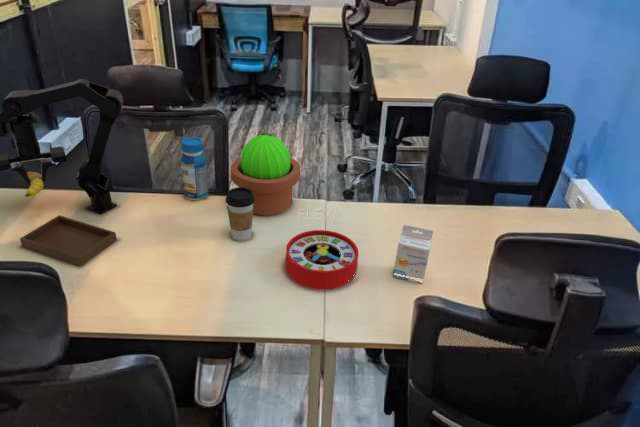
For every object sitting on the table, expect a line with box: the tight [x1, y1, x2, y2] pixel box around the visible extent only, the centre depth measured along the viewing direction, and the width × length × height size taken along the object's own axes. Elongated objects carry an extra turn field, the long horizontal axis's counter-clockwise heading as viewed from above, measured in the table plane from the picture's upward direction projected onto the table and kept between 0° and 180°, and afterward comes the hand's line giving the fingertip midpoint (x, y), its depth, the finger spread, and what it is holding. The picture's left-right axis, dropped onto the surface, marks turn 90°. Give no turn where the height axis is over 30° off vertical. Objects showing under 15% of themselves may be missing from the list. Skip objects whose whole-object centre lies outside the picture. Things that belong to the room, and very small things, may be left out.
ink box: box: [392, 224, 434, 284], centre depth 138 cm, size 8×5×15 cm, turn 72°
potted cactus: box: [230, 132, 301, 216], centre depth 165 cm, size 22×22×25 cm
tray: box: [19, 214, 118, 268], centre depth 145 cm, size 21×14×3 cm
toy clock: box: [285, 229, 359, 291], centre depth 141 cm, size 20×6×20 cm
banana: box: [24, 171, 45, 198], centre depth 154 cm, size 15×6×3 cm, turn 28°
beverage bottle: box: [180, 136, 210, 201], centre depth 168 cm, size 8×8×20 cm
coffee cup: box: [225, 186, 255, 242], centre depth 150 cm, size 8×8×15 cm
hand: (37, 183), depth 155 cm, fingers closed on banana, 3 cm apart
